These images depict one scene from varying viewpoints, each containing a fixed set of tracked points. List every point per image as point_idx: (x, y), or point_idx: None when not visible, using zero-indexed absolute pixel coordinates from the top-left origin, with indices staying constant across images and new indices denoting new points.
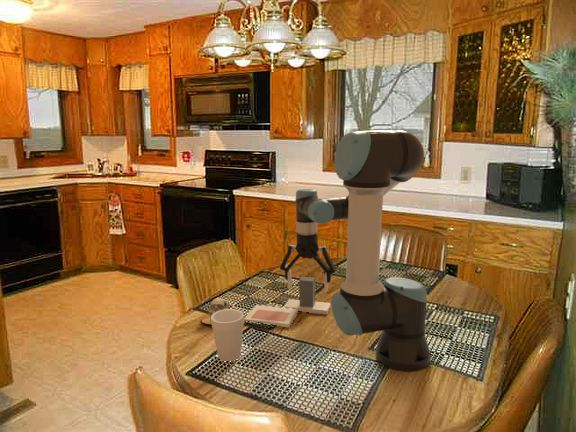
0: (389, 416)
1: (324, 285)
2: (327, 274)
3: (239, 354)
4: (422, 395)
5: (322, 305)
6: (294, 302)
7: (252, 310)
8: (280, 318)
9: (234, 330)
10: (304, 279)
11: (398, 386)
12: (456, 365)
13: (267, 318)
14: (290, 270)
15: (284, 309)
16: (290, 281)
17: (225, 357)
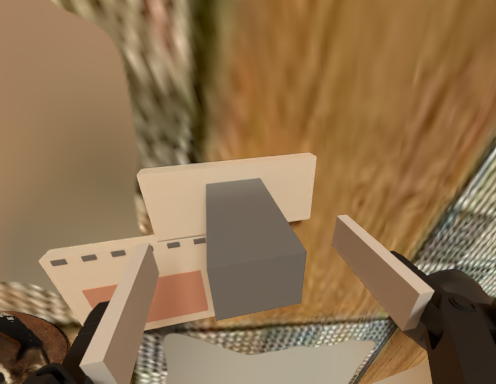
0: (380, 374)
1: (351, 268)
2: (425, 334)
3: None
4: None
5: (289, 187)
6: (177, 198)
7: (69, 300)
8: (191, 304)
9: None
10: (243, 301)
11: (401, 343)
12: (489, 286)
13: (155, 317)
14: (102, 372)
15: (171, 257)
16: (145, 297)
17: None
